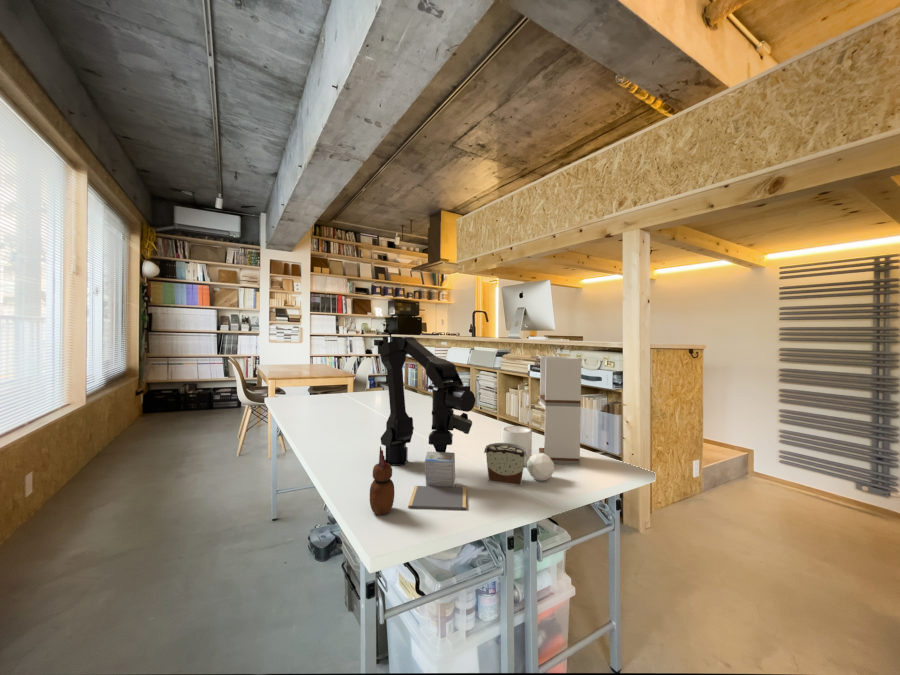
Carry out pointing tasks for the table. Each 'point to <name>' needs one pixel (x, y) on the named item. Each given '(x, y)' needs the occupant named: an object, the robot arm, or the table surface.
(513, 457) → the multicoloured piece
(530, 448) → the mug
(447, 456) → the medicine box
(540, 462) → the geometric ball
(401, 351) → the robot arm
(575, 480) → the table surface
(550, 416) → the stacked beige boxes
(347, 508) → the table surface
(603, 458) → the table surface
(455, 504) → the mat
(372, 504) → the wooden figurine
